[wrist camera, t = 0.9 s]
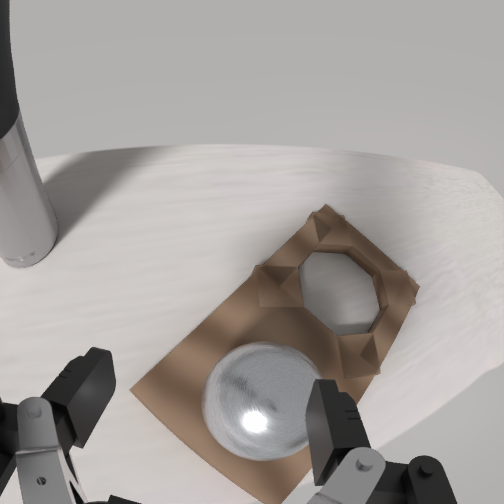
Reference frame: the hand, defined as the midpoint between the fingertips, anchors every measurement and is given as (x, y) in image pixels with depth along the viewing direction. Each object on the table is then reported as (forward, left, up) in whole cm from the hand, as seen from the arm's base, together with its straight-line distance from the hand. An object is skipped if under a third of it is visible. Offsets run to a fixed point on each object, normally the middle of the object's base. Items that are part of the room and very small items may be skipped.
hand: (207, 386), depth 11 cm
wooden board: (-3, +14, -19) cm, 24 cm away
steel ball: (+2, +6, -12) cm, 14 cm away
